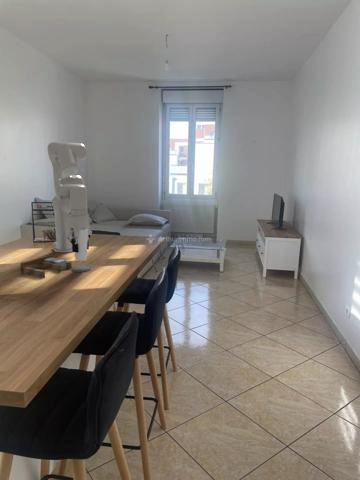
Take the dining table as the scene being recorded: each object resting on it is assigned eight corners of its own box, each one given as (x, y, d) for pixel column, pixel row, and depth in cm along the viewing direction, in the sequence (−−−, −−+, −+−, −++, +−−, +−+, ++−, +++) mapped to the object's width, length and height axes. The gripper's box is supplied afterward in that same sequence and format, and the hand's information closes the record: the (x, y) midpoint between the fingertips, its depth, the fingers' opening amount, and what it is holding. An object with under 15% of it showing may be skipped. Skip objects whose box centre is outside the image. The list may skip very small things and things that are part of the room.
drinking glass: (91, 258, 169) (90, 227, 166) (83, 262, 163) (81, 230, 160) (79, 257, 171) (78, 226, 168) (70, 260, 165) (69, 229, 162)
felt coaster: (67, 270, 166) (67, 269, 166) (80, 265, 174) (80, 264, 174) (82, 273, 162) (82, 272, 162) (94, 268, 170) (94, 267, 170)
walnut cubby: (21, 273, 160) (20, 262, 159) (51, 263, 176) (51, 254, 175) (42, 278, 154) (41, 267, 153) (71, 267, 170) (71, 257, 169)
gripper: (85, 210, 171) (86, 246, 175) (59, 214, 156) (61, 253, 160) (97, 211, 168) (98, 247, 172) (72, 215, 153) (73, 255, 157)
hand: (80, 250), depth 166 cm, fingers closed on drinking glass, 6 cm apart
